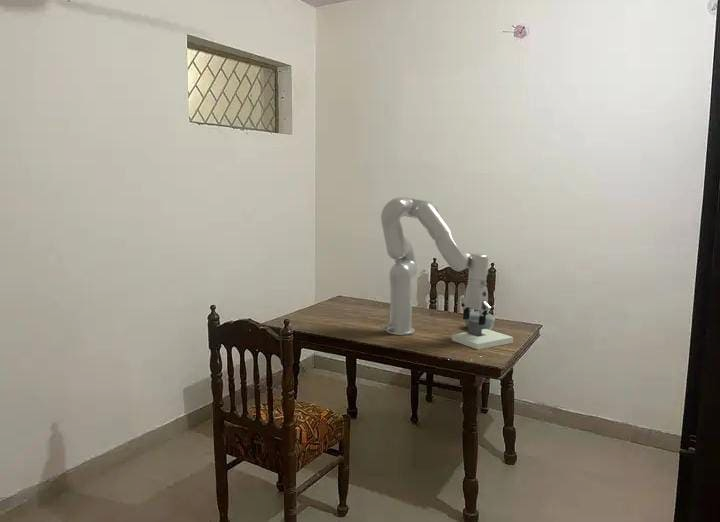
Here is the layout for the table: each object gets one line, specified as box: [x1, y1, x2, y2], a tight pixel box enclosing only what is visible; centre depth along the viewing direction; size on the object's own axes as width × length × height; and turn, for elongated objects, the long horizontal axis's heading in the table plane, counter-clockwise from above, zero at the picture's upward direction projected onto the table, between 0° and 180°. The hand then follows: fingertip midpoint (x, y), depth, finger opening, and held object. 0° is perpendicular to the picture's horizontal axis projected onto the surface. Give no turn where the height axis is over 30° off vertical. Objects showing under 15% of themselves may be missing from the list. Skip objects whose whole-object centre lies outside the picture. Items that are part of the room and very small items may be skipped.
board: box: [451, 329, 514, 350], centre depth 235 cm, size 20×16×2 cm
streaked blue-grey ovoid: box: [465, 310, 496, 330], centre depth 255 cm, size 14×10×10 cm
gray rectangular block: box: [467, 320, 482, 337], centre depth 238 cm, size 4×4×8 cm
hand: (473, 321), depth 238 cm, fingers open, 9 cm apart
